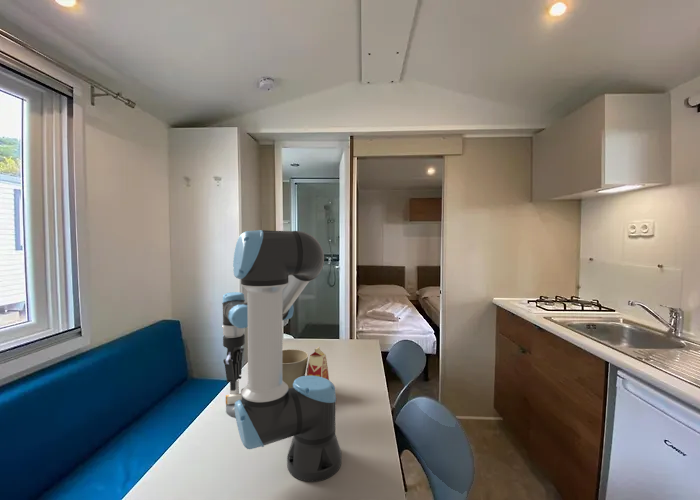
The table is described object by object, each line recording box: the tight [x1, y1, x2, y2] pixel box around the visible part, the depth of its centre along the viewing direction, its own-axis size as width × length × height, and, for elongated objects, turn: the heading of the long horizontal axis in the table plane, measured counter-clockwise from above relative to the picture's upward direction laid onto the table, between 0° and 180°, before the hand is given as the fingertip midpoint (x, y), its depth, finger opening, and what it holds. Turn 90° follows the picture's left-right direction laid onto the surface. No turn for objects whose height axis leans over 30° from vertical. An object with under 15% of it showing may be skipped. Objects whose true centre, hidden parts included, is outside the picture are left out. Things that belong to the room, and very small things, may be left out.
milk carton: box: [306, 346, 330, 381], centre depth 128 cm, size 9×9×20 cm
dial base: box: [225, 403, 236, 419], centre depth 120 cm, size 14×14×2 cm
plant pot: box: [282, 348, 309, 388], centre depth 129 cm, size 15×15×16 cm
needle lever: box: [225, 387, 245, 405], centre depth 119 cm, size 9×4×4 cm, turn 104°
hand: (234, 397), depth 121 cm, fingers closed
